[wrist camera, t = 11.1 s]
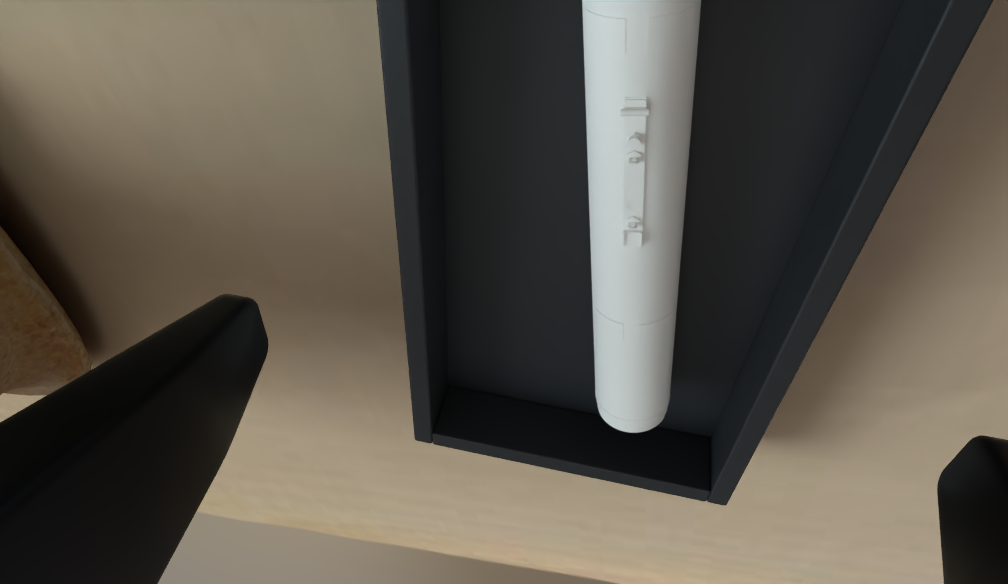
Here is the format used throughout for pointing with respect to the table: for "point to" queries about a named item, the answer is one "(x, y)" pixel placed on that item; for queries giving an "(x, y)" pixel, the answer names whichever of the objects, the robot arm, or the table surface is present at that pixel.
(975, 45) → the table surface
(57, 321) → the stone cup
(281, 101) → the table surface
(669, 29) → the white model rocket
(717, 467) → the pen tray
